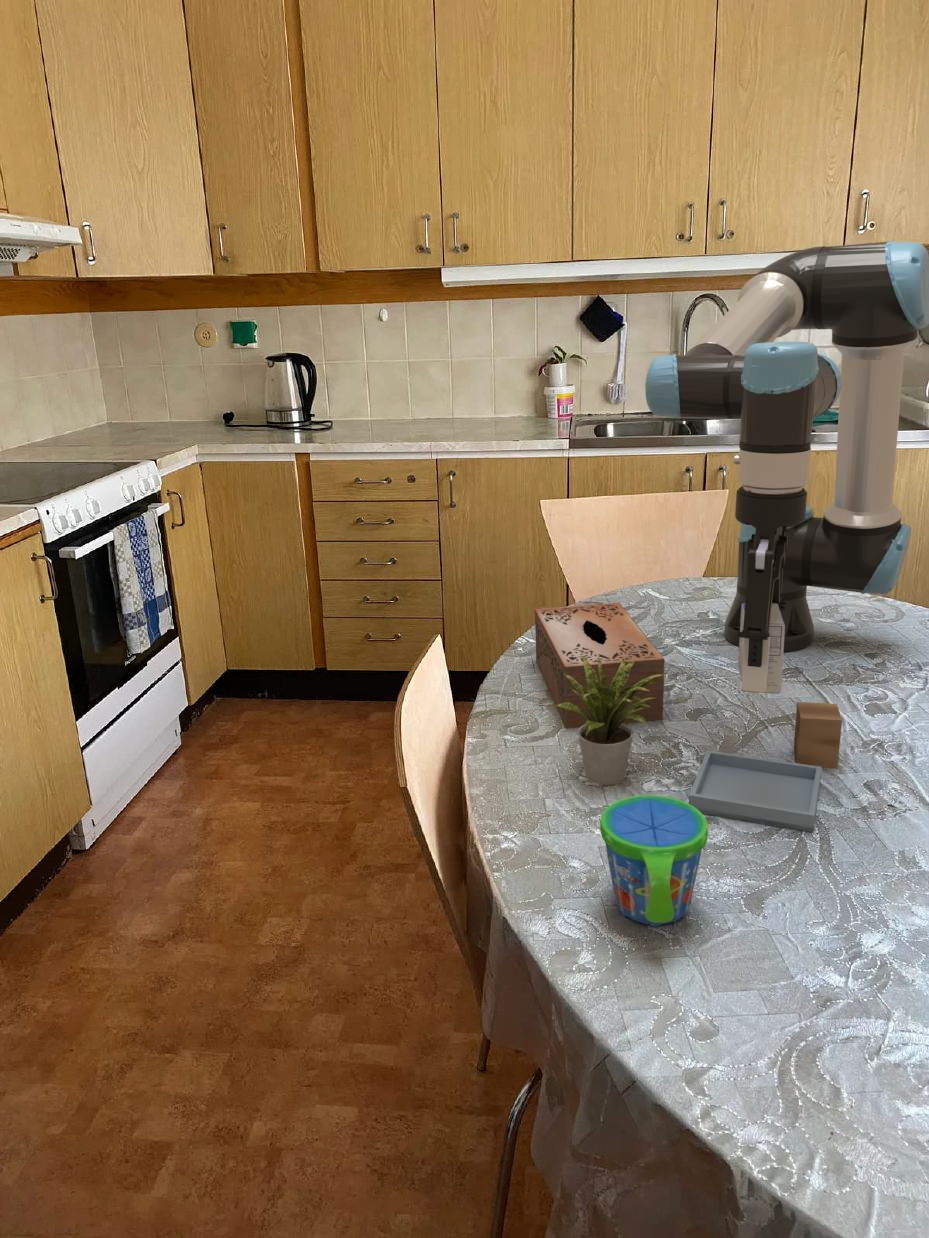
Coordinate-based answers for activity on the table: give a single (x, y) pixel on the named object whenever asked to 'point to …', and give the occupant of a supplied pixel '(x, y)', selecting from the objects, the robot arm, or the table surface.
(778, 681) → the medicine box
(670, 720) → the table surface
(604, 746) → the house plant
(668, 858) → the snack cup
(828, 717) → the walnut block
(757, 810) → the grey tray
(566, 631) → the tissue box cover
